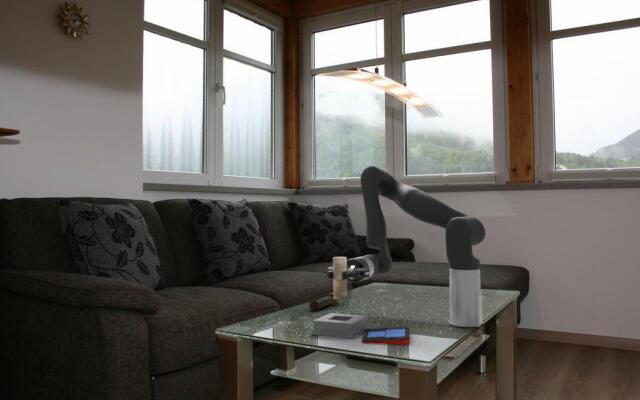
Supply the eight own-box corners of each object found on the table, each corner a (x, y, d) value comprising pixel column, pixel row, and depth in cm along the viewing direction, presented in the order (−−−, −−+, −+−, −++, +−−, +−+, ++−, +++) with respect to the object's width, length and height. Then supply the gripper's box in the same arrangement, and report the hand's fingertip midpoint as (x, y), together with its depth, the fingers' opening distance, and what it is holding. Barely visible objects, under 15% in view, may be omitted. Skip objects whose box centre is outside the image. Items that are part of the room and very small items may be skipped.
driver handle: (349, 297, 155) (348, 257, 155) (343, 300, 151) (343, 258, 151) (336, 296, 157) (336, 256, 157) (331, 299, 153) (330, 257, 153)
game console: (366, 332, 154) (365, 325, 154) (409, 334, 152) (409, 326, 152) (361, 345, 140) (361, 336, 140) (409, 346, 138) (409, 338, 138)
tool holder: (369, 329, 157) (369, 315, 157) (352, 339, 145) (352, 324, 145) (330, 325, 162) (330, 312, 162) (311, 334, 151) (310, 320, 151)
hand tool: (318, 312, 185) (318, 298, 186) (309, 311, 187) (309, 298, 188) (343, 303, 202) (343, 291, 202) (334, 302, 204) (334, 290, 204)
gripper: (338, 256, 170) (314, 261, 155) (379, 258, 164) (358, 263, 148) (338, 279, 170) (314, 287, 155) (379, 282, 164) (358, 290, 148)
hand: (336, 275), depth 152 cm, fingers closed on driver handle, 4 cm apart
